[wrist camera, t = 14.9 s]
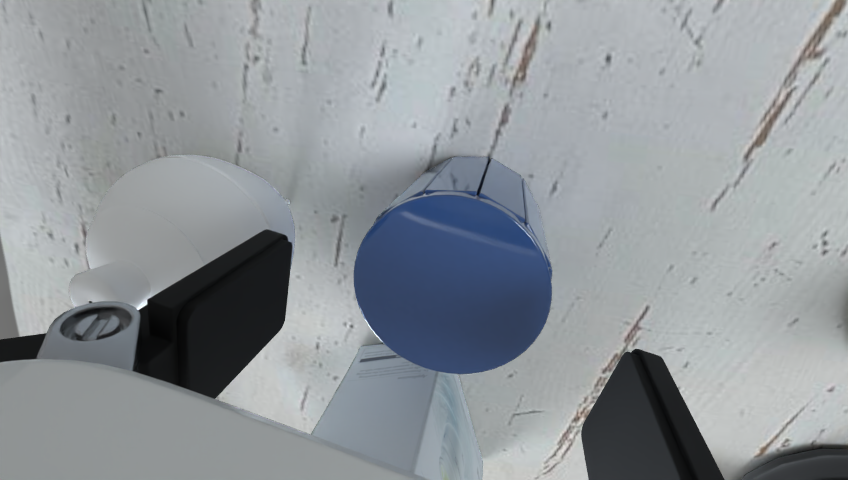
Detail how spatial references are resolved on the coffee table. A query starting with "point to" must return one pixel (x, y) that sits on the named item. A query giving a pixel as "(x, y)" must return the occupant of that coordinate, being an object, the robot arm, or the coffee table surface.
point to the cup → (457, 269)
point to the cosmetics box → (403, 417)
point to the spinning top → (173, 226)
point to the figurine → (805, 466)
